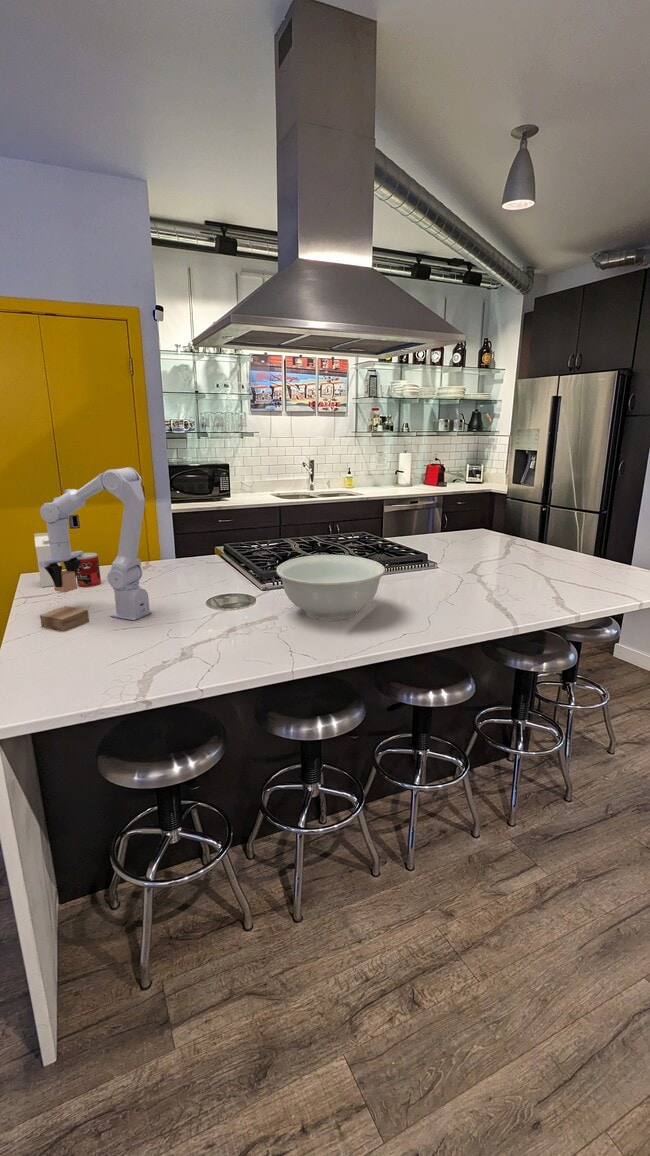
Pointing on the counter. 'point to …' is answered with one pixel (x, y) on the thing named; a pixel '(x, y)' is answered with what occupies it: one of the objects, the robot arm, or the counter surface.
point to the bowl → (330, 584)
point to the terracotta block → (67, 581)
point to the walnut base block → (64, 618)
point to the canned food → (88, 570)
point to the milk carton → (43, 557)
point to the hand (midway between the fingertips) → (65, 584)
